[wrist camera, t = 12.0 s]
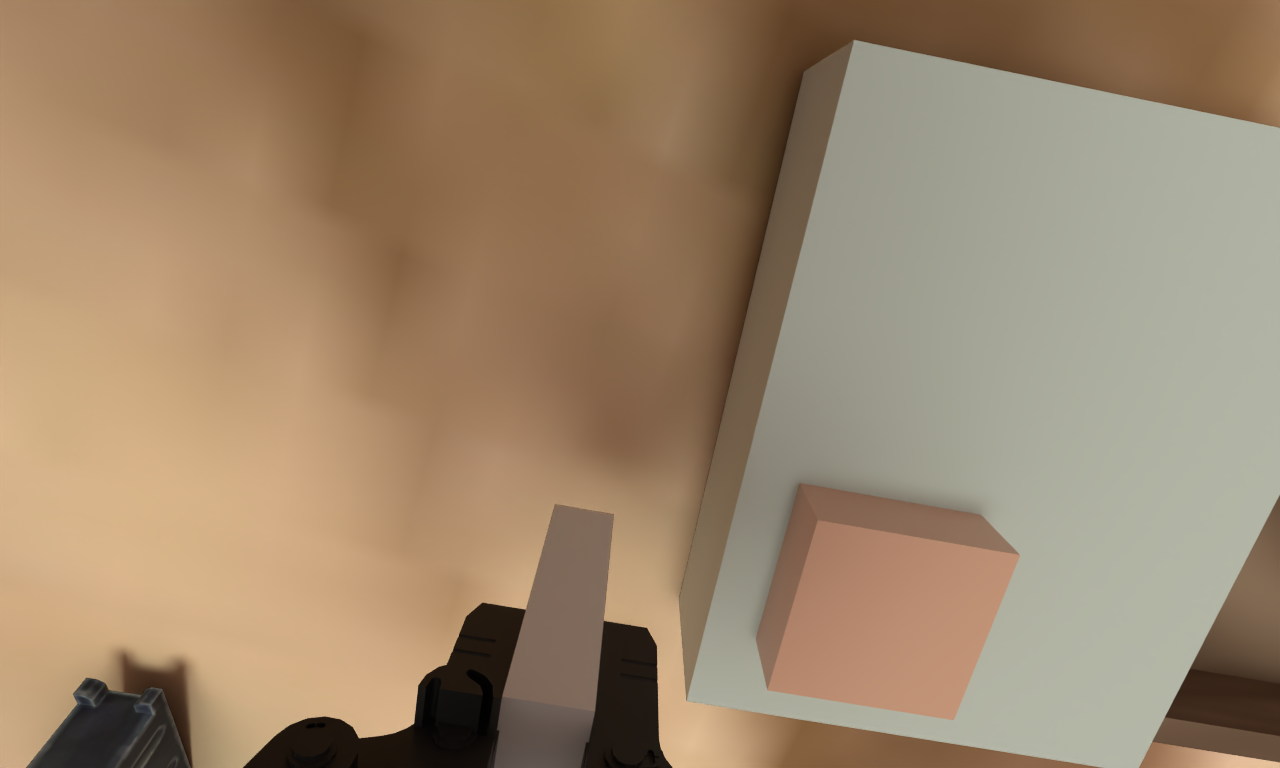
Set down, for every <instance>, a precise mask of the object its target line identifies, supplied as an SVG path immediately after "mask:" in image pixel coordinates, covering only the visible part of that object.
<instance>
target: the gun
mask: <svg viewBox="0 0 1280 768" xmlns="http://www.w3.org/2000/svg"><path fill="white" fill-rule="evenodd" d="M73 695H74V697H75V699H76V701H77V705H76V707H75V708H74V709H73V710H72V712H71V713H70V714H69V715H68V716H67V718H66V719H65V720H64V721H63V723H62V724H61V725H60V726H59V728H58V729H57V730H56V731H55V733H54V734H53V735H52V736H51V738H50V739H49V740H48V741H47V743H46V744H45V745H44V746H43V747H42V749H41V750H40V751H39V752H38V754H37V755H36V756H35V757H34V759H33V760H32V761H31V762H30V764H29V765H28V766H27V767H26V768H191V767H190V764H189V762H188V759H187V756H186V753H185V750H184V748H183V745H182V742H181V739H180V737H179V734H178V731H177V728H176V725H175V723H174V720H173V717H172V714H171V712H170V709H169V706H168V703H167V700H166V698H165V695H164V692H163V689H159V688H152V687H151V688H148V689H146V690H145V691H144V692H143V694H142V695H138V694H131V693H124V692H117V691H110V690H108V688H107V685H106V684H105V683H103V682H101V681H99V680H97V679H90V678H86V679H85V680H84V681H83V683H82V684H81V685H80V686H79V687H78V689H77V690H76V691H75V692H74V693H73Z"/></svg>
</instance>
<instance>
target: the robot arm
mask: <svg viewBox="0 0 1280 768" xmlns="http://www.w3.org/2000/svg"><path fill="white" fill-rule="evenodd" d="M613 518H614V514H609V513H603V512H598V511H592V510H586V509H580V508H574V507H568V506H563V505H557V504H555V506H554V510H553V513H552V517H551V521H550V524H549V528H548V532H547V535H546V539H545V543H544V546H543V550H542V553H541V557H540V561H539V564H538V568H537V572H536V575H535V579H534V583H533V586H532V590H531V593H530V597H529V601H528V604H527V608H526V610H524V609H518V608H512V607H505V606H499V605H493V604H487V603H481V604H480V605H479V606H478V607H477V608H476V609H475V610H473V611H472V612H471V613H470V614H469V615H468V616H466V619H465V621H464V624H463V626H462V629H461V631H460V634H459V638H458V639H457V641H456V643H455V646H454V649H453V652H452V653H451V656H450V658H449V661H448V663H447V665H444V666H441V667H438V668H436V669H435V670H433V671H432V672H430V673H428V674H427V675H426V676H425V677H424V679H423V680H422V681H421V683H420V684H419V685H418V694H417V703H416V713H415V722H414V724H413V725H411V726H410V727H408V728H406V729H404V730H402V731H399V732H397V733H393V734H388V735H384V736H377V737H368V738H360V739H359V738H358V736H357V734H356V732H355V730H354V729H353V727H352V726H350V725H349V724H347V723H345V722H344V721H342V720H340V719H335V718H330V717H316V718H307V719H305V720H302V721H299V722H297V723H294V724H292V725H289V726H288V727H287V728H285V729H284V730H283V731H281V732H280V733H278V734H277V735H276V736H275V737H274V738H273V739H272V740H271V741H269V742H268V743H267V744H266V745H265V746H264V747H263V748H262V749H261V750H260V751H259V752H258V753H257V754H256V755H255V756H254V757H253V758H252V759H251V760H250V761H249V762H248V763H247V764H246V765H245V766H244V767H243V768H672V766H671V765H670V764H669V763H668V761H667V760H666V759H665V757H664V755H663V752H662V750H661V748H660V743H659V725H658V683H657V645H656V643H655V642H654V640H653V638H652V636H651V635H650V633H649V631H648V629H647V628H643V627H637V626H631V625H625V624H619V623H613V622H607V621H604V612H605V602H606V591H607V581H608V570H609V560H610V549H611V539H612V528H613Z"/></svg>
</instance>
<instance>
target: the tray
mask: <svg viewBox="0 0 1280 768" xmlns="http://www.w3.org/2000/svg"><path fill="white" fill-rule="evenodd" d="M1152 742H1157V743H1163V744H1170V745H1176V746H1182V747H1188V748H1194V749H1201V750H1207V751H1213V752H1219V753H1225V754H1232V755H1238V756H1244V757H1250V758H1256V759H1263V760H1269V761H1275V762H1280V495H1279V497H1278V499H1277V501H1276V503H1275V505H1274V507H1273V509H1272V511H1271V513H1270V514H1269V516H1268V518H1267V520H1266V522H1265V524H1264V526H1263V528H1262V530H1261V532H1260V534H1259V536H1258V538H1257V540H1256V542H1255V543H1254V545H1253V547H1252V549H1251V551H1250V553H1249V555H1248V557H1247V559H1246V561H1245V563H1244V565H1243V567H1242V569H1241V571H1240V573H1239V574H1238V576H1237V578H1236V580H1235V582H1234V584H1233V586H1232V588H1231V590H1230V592H1229V594H1228V596H1227V598H1226V600H1225V602H1224V603H1223V605H1222V607H1221V609H1220V611H1219V613H1218V615H1217V617H1216V619H1215V621H1214V623H1213V625H1212V627H1211V629H1210V631H1209V632H1208V634H1207V636H1206V638H1205V640H1204V642H1203V644H1202V646H1201V648H1200V650H1199V652H1198V654H1197V656H1196V658H1195V660H1194V662H1193V663H1192V665H1191V667H1190V669H1189V671H1188V673H1187V675H1186V677H1185V679H1184V681H1183V683H1182V685H1181V687H1180V689H1179V691H1178V692H1177V694H1176V696H1175V698H1174V700H1173V702H1172V704H1171V706H1170V708H1169V710H1168V712H1167V714H1166V716H1165V718H1164V720H1163V722H1162V723H1161V725H1160V727H1159V729H1158V731H1157V733H1156V735H1155V737H1154V739H1153V741H1152Z"/></svg>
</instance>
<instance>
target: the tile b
mask: <svg viewBox="0 0 1280 768" xmlns="http://www.w3.org/2000/svg"><path fill="white" fill-rule="evenodd" d="M1019 557H1020V554H1019V553H1018V552H1017V551H1016V550H1015V549H1014V548H1013V547H1012V546H1011V545H1010V544H1009V543H1008V542H1007V541H1006V540H1005V539H1004V538H1003V537H1002V536H1001V535H1000V534H999V533H998V532H997V531H996V530H995V528H994V527H993V526H992V525H991V524H990V523H989V522H988V521H987V520H986V519H985V518H984V517H983V516H982V515H979V514H973V513H968V512H962V511H956V510H951V509H945V508H939V507H933V506H928V505H922V504H916V503H911V502H905V501H899V500H894V499H888V498H882V497H876V496H871V495H865V494H859V493H854V492H848V491H842V490H836V489H831V488H825V487H819V486H814V485H808V484H802V483H800V484H799V487H798V491H797V494H796V498H795V501H794V505H793V508H792V512H791V516H790V519H789V523H788V526H787V530H786V533H785V537H784V540H783V544H782V548H781V551H780V555H779V558H778V562H777V565H776V569H775V572H774V576H773V580H772V583H771V587H770V590H769V594H768V597H767V601H766V604H765V608H764V611H763V615H762V619H761V622H760V626H759V629H758V633H757V636H756V643H757V648H758V652H759V656H760V661H761V665H762V669H763V674H764V678H765V682H766V686H767V690H768V691H775V692H781V693H787V694H793V695H799V696H806V697H812V698H818V699H824V700H831V701H837V702H843V703H849V704H856V705H862V706H868V707H874V708H880V709H887V710H893V711H899V712H905V713H912V714H918V715H924V716H930V717H936V718H943V719H949V720H954V719H955V716H956V714H957V711H958V709H959V706H960V704H961V701H962V699H963V696H964V694H965V691H966V689H967V686H968V684H969V681H970V679H971V676H972V674H973V671H974V669H975V666H976V664H977V661H978V659H979V657H980V654H981V652H982V649H983V647H984V644H985V642H986V639H987V637H988V634H989V632H990V629H991V627H992V624H993V622H994V619H995V617H996V614H997V612H998V609H999V607H1000V604H1001V602H1002V599H1003V597H1004V594H1005V592H1006V589H1007V587H1008V584H1009V582H1010V579H1011V577H1012V574H1013V572H1014V570H1015V567H1016V565H1017V562H1018V560H1019Z"/></svg>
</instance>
